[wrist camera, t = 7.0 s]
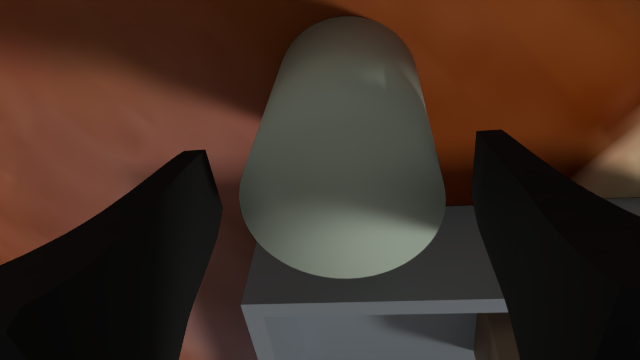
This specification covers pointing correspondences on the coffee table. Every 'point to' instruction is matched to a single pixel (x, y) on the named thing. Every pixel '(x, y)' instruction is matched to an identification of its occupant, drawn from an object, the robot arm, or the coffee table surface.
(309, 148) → the sage capsule
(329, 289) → the tote
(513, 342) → the walnut cube
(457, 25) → the coffee table surface
